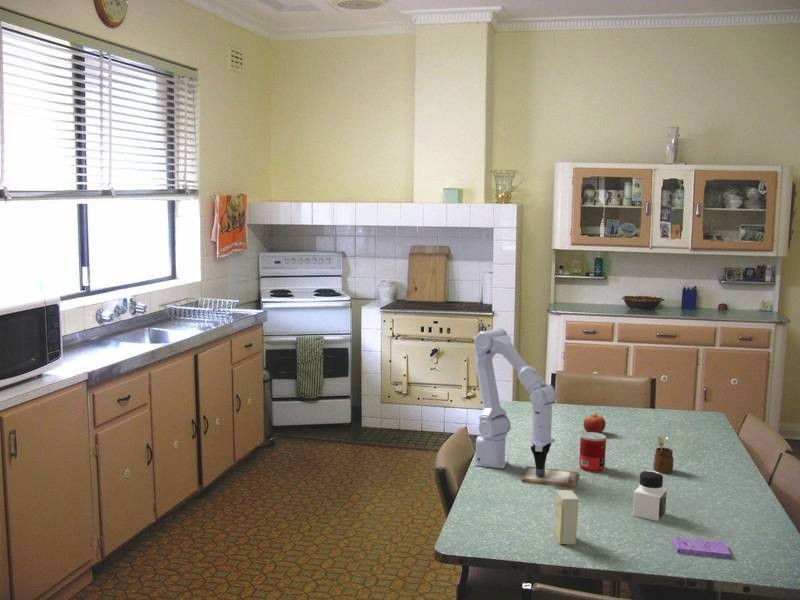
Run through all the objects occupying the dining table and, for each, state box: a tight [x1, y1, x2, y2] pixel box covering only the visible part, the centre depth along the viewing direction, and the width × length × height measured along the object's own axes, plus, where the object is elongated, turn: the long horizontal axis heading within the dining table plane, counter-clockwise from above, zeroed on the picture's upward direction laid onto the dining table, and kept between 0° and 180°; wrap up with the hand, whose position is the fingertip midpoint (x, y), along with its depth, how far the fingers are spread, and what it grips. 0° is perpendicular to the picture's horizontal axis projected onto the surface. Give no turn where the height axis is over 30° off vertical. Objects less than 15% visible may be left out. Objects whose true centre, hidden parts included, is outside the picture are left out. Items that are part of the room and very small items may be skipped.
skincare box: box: [552, 489, 580, 546], centre depth 200 cm, size 6×4×12 cm
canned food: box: [578, 431, 607, 473], centre depth 254 cm, size 8×8×11 cm
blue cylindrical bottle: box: [536, 464, 546, 476], centre depth 244 cm, size 3×3×8 cm
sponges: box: [672, 536, 732, 559], centre depth 196 cm, size 7×13×2 cm, turn 78°
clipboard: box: [521, 465, 579, 488], centre depth 246 cm, size 16×13×1 cm
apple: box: [583, 412, 607, 434], centre depth 293 cm, size 8×8×8 cm
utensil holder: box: [653, 435, 674, 475], centre depth 253 cm, size 6×6×12 cm
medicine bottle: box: [632, 470, 667, 522], centre depth 217 cm, size 7×7×12 cm
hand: (540, 467), depth 244 cm, fingers closed on blue cylindrical bottle, 3 cm apart
